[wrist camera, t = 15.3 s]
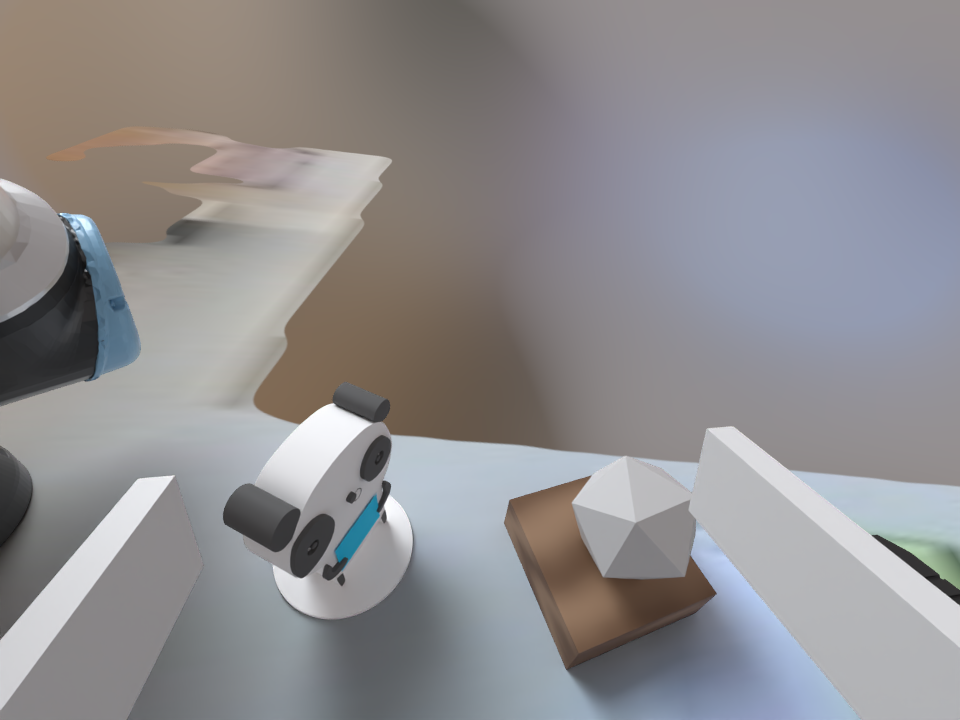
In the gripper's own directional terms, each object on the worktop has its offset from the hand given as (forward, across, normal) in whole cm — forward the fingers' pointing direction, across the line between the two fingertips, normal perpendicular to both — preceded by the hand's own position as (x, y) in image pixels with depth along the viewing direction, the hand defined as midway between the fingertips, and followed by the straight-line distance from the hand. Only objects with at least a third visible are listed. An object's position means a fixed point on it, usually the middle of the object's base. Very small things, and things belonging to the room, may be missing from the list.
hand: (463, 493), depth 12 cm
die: (+17, +14, -20) cm, 30 cm away
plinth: (+18, +13, -24) cm, 33 cm away
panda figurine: (+21, -8, -22) cm, 32 cm away
